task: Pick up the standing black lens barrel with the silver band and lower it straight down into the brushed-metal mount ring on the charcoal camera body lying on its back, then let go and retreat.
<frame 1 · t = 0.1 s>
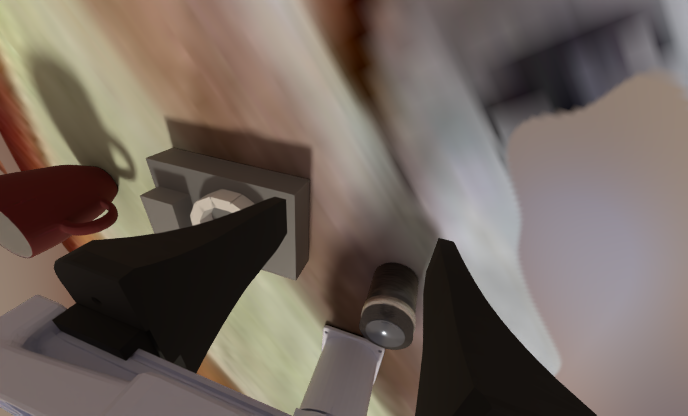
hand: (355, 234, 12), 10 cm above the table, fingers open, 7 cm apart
camera body: (243, 206, 28), on the table
lens: (395, 279, 27), on the table
mug: (114, 183, 33), on the table
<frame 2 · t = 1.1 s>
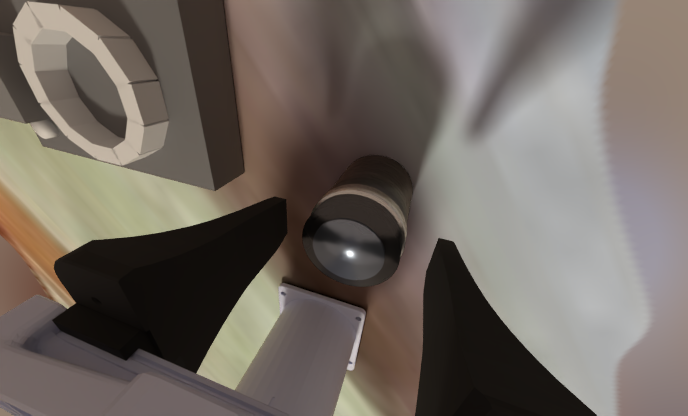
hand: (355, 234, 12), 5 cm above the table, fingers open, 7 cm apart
camera body: (138, 81, 18), on the table
lens: (376, 189, 16), on the table
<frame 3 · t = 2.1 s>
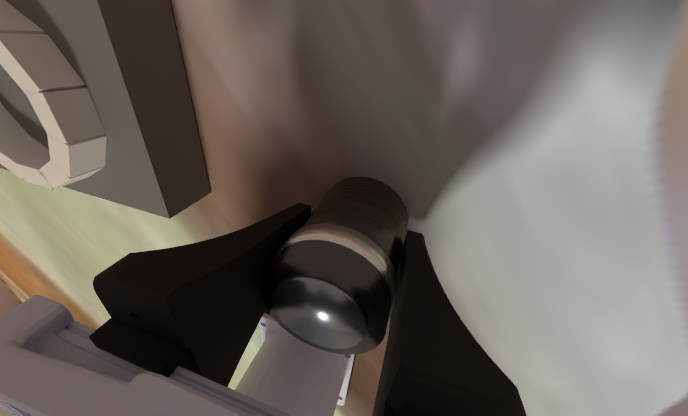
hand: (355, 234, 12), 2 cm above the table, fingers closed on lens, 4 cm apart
camera body: (82, 86, 15), on the table
lens: (363, 216, 14), on the table, touching gripper
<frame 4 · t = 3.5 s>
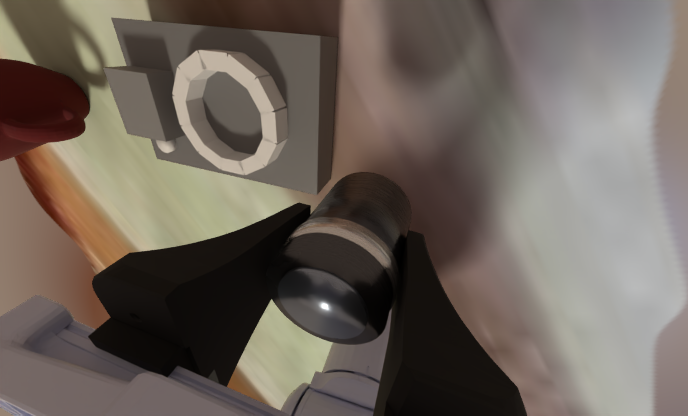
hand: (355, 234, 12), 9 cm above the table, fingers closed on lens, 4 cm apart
camera body: (245, 103, 21), on the table
lens: (368, 211, 14), point 7 cm above the table, touching gripper
mug: (84, 98, 27), on the table
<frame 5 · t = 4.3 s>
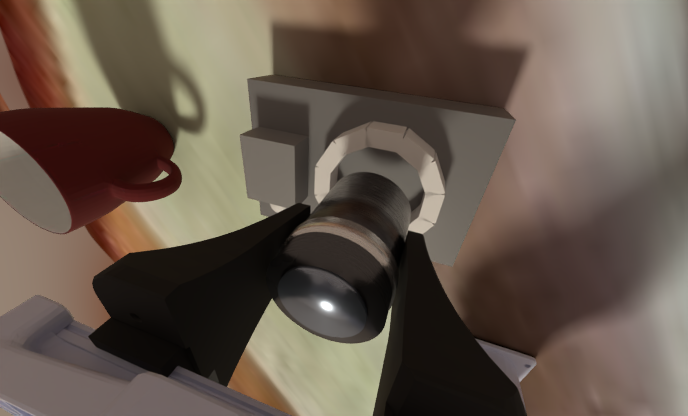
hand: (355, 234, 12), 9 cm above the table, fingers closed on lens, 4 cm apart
camera body: (367, 162, 20), on the table
lens: (367, 210, 14), point 7 cm above the table, touching gripper
mug: (169, 141, 25), on the table
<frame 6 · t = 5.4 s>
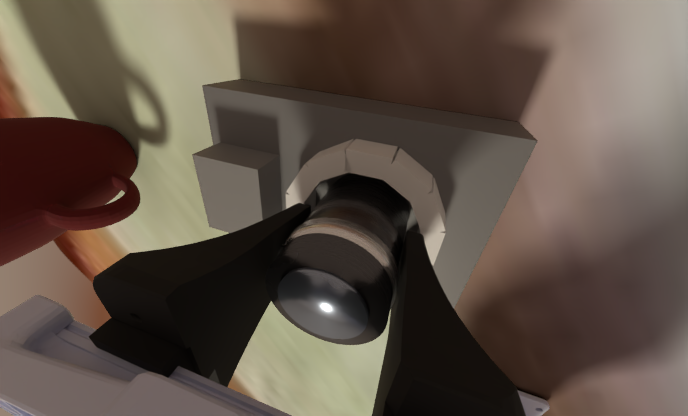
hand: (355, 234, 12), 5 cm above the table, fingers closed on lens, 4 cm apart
camera body: (353, 182, 17), on the table
lens: (365, 211, 14), point 3 cm above the table, touching camera body, gripper
mug: (131, 153, 22), on the table
when the fingers open (5 cm above the table, at t = 5.4 s): lens stays where it is, resting on camera body.
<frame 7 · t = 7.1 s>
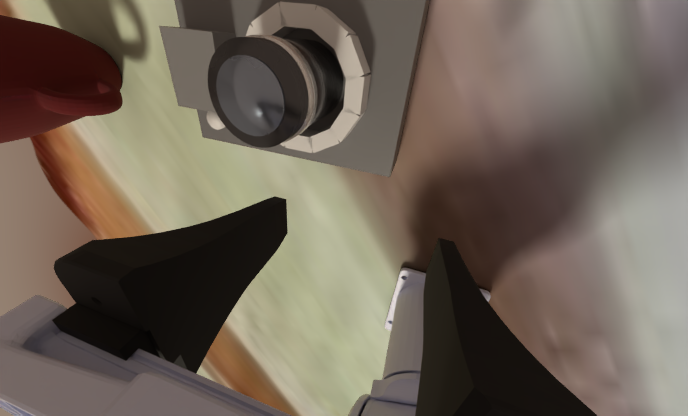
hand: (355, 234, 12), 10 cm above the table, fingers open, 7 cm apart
camera body: (306, 76, 19), on the table
lens: (308, 81, 16), point 3 cm above the table, touching camera body
mug: (117, 72, 24), on the table
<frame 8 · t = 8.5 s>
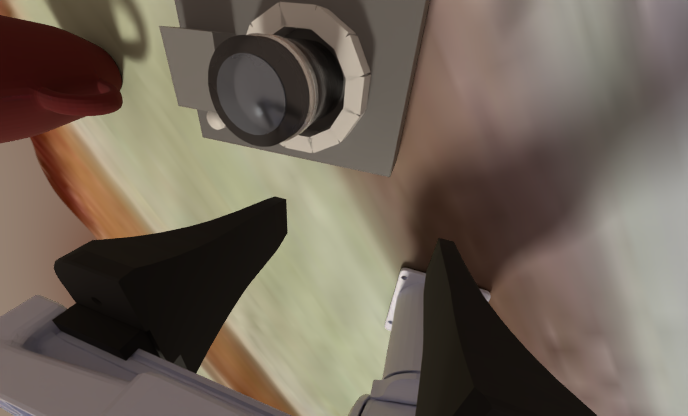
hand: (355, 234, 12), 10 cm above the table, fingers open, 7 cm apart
camera body: (306, 76, 19), on the table
lens: (308, 82, 16), point 3 cm above the table, touching camera body
mug: (117, 72, 24), on the table
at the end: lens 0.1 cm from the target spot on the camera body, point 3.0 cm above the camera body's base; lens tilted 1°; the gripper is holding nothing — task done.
